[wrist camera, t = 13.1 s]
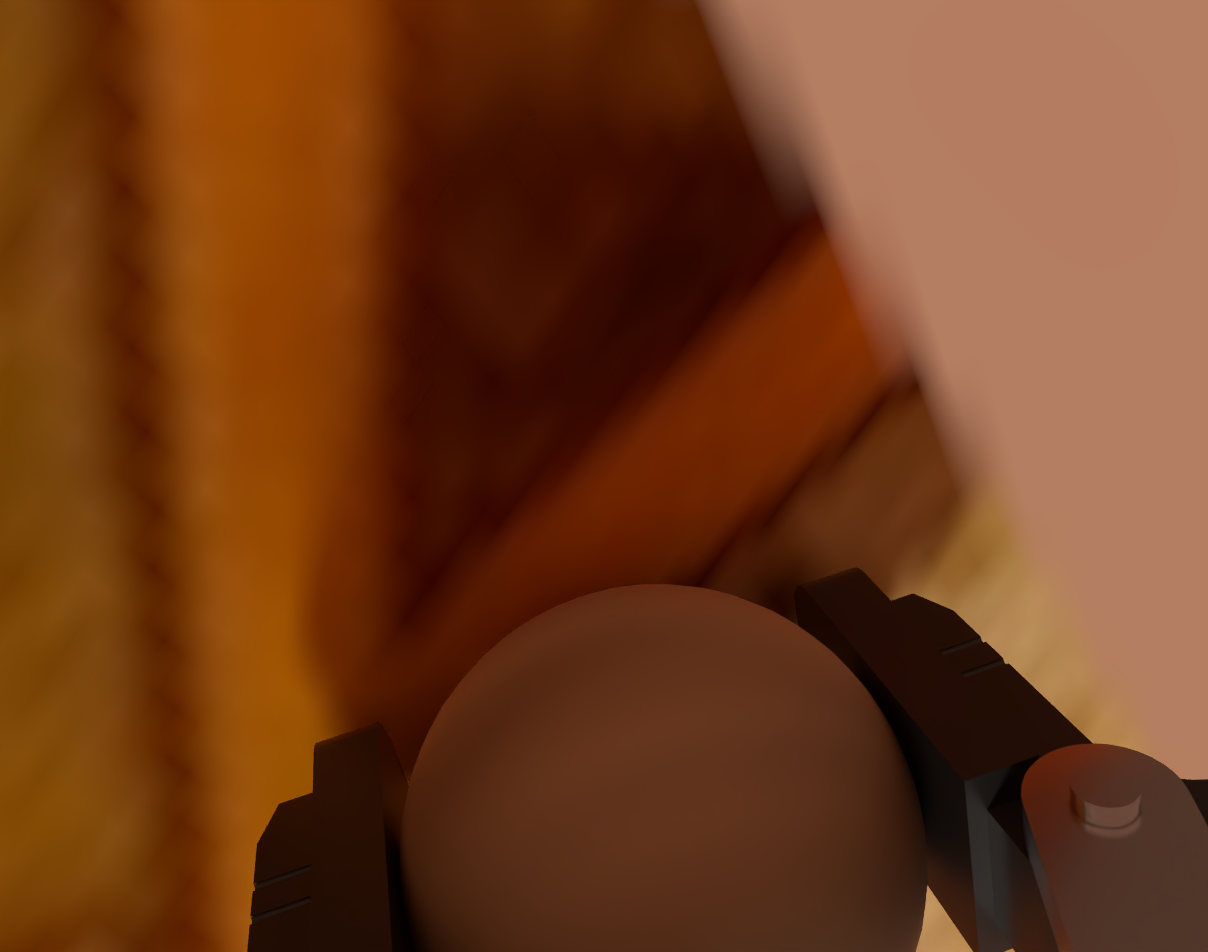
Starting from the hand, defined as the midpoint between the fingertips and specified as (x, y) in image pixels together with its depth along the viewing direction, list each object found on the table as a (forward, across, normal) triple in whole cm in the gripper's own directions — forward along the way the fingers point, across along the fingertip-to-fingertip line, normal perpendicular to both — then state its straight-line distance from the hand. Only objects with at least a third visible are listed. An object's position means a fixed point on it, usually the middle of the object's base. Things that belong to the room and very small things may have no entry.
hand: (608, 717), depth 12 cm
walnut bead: (0, 0, 0) cm, 0 cm away
